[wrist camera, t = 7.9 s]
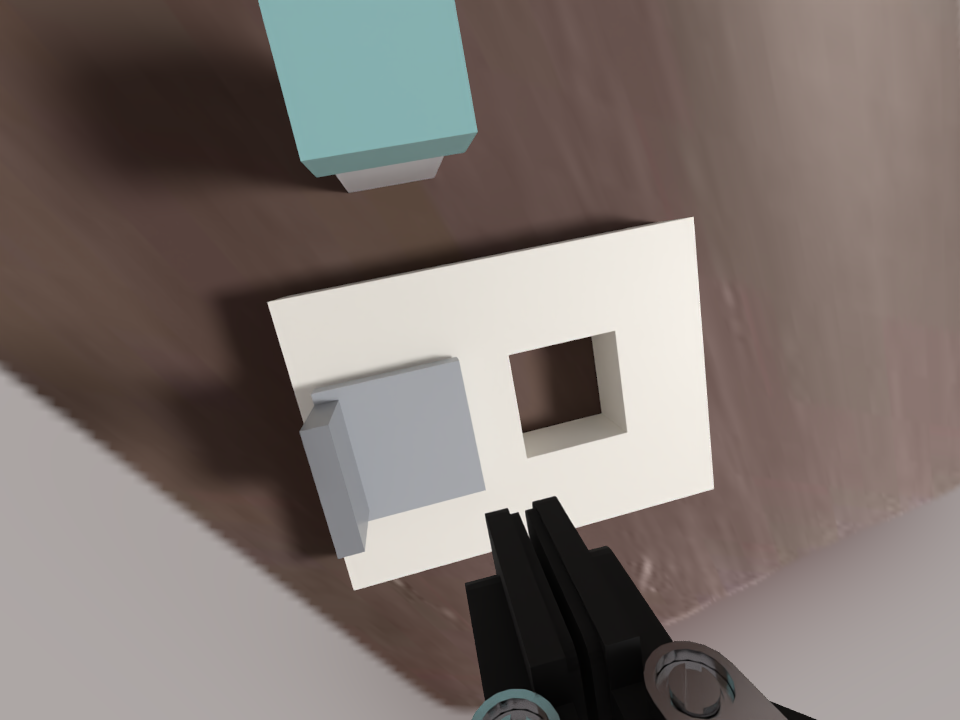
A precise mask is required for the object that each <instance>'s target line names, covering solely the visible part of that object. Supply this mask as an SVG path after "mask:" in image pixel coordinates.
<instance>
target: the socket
mask: <svg viewBox="0 0 960 720" xmlns="http://www.w3.org/2000/svg"><path fill="white" fill-rule="evenodd" d="M267 303H268V306H269V310H270V313H271V316H272V320H273V323H274V326H275V330H276V333H277V336H278V340H279V343H280V346H281V350H282V353H283V356H284V360H285V363H286V366H287V369H288V373H289V376H290V379H291V383H292V386H293V389H294V393H295V396H296V399H297V403H298V406H299V409H300V413H301V416H302V419H303V423H305V421H306V419H307V417H308V416H309V414H310V412H311V410H312V409H313V407H314V403H313V400H312V396H311V393H312V392H313V390H314V389H316V388H320V387H325V386H329V385H334V384H338V383H342V382H347V381H351V380H356V379H360V378H365V377H369V376H373V375H378V374H382V373H387V372H391V371H396V370H400V369H404V368H409V367H413V366H418V365H422V364H427V363H431V362H435V361H440V360H444V359H449V358H453V357H457V358H458V360H459V363H460V367H461V372H462V377H463V382H464V387H465V392H466V396H467V401H468V406H469V411H470V416H471V421H472V425H473V430H474V435H475V440H476V445H477V450H478V454H479V459H480V464H481V469H482V474H483V479H484V483H485V488H486V490H485V491H481V492H477V493H473V494H469V495H466V496H462V497H458V498H454V499H451V500H447V501H443V502H439V503H436V504H432V505H428V506H424V507H420V508H417V509H413V510H409V511H405V512H402V513H398V514H394V515H390V516H386V517H383V518H379V519H375V520H371V521H368V528H367V537H366V546H365V552H362V553H358V554H354V555H351V556H347V557H344V559H345V562H346V566H347V569H348V572H349V576H350V579H351V582H352V586H353V589H354V590H357V589H361V588H365V587H368V586H372V585H375V584H379V583H382V582H386V581H389V580H393V579H396V578H400V577H403V576H407V575H411V574H414V573H418V572H421V571H425V570H428V569H432V568H435V567H439V566H442V565H446V564H450V563H453V562H457V561H460V560H464V559H467V558H471V557H474V556H478V555H481V554H485V553H488V552H492V549H491V544H490V539H489V534H488V529H487V524H486V519H485V513H489V512H493V511H497V510H501V509H505V508H508V509H509V512H510V514H512V513H516V512H519V514H520V517H521V519H522V521H523V524H524V526H525V529H526V531H527V533H528V527H527V521H526V516H525V510H528V509H532V502H533V501H537V500H541V499H545V498H549V497H553V496H556V497H557V498H558V500H559V502H560V503H561V505H562V507H563V508H564V510H565V512H566V513H567V515H568V517H569V519H570V520H571V522H572V524H573V525H574V527H575V528H577V527H581V526H584V525H588V524H591V523H595V522H598V521H602V520H605V519H609V518H612V517H616V516H620V515H623V514H627V513H630V512H634V511H637V510H641V509H644V508H648V507H651V506H655V505H658V504H662V503H666V502H669V501H673V500H676V499H680V498H683V497H687V496H690V495H694V494H697V493H701V492H704V491H708V490H712V489H714V483H713V469H712V456H711V443H710V430H709V416H708V403H707V390H706V376H705V363H704V350H703V337H702V323H701V310H700V297H699V283H698V270H697V257H696V244H695V230H694V217H689V218H683V219H676V220H669V221H662V222H656V223H651V224H646V225H641V226H636V227H631V228H626V229H621V230H616V231H611V232H606V233H601V234H596V235H591V236H586V237H581V238H576V239H571V240H566V241H561V242H556V243H551V244H546V245H541V246H536V247H531V248H526V249H521V250H516V251H511V252H506V253H501V254H496V255H491V256H486V257H481V258H476V259H471V260H466V261H461V262H456V263H451V264H446V265H441V266H436V267H431V268H426V269H420V270H415V271H410V272H405V273H400V274H395V275H390V276H385V277H380V278H375V279H370V280H365V281H360V282H355V283H350V284H345V285H340V286H335V287H330V288H325V289H320V290H315V291H310V292H305V293H300V294H295V295H290V296H285V297H282V298H279V299H276V300H273V301H269V302H267ZM590 336H591V337H592V345H593V352H594V359H595V367H596V374H597V382H598V389H599V397H600V404H601V412H602V413H601V414H597V415H593V416H589V417H585V418H581V419H577V420H573V421H569V422H565V423H561V424H557V425H553V426H549V427H545V428H541V429H537V430H533V431H529V432H525V433H522V428H521V422H520V417H519V411H518V406H517V400H516V395H515V389H514V384H513V378H512V372H511V367H510V361H509V356H508V355H511V354H515V353H520V352H524V351H528V350H533V349H537V348H541V347H546V346H550V345H555V344H559V343H563V342H568V341H572V340H576V339H581V338H585V337H590ZM528 536H529V533H528Z"/></svg>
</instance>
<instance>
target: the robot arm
mask: <svg viewBox="0 0 960 720" xmlns="http://www.w3.org/2000/svg"><path fill="white" fill-rule="evenodd" d="M525 516H526V521H527V527H528V533H529V536H528V533H527V531H526V529H525V526H524V524H523V521H522V519H521V517H520V514H519V512H516V513H512V514H510V512H509V509H508V508H505V509H501V510H497V511H493V512H489V513H485V519H486V524H487V529H488V534H489V539H490V544H491V549H492V554H493V559H494V564H495V569H496V574H497V575H494V576H490V577H486V578H483V579H479V580H475V581H471V582H467V583H465V587H466V593H467V599H468V605H469V611H470V616H471V622H472V628H473V634H474V639H475V645H476V651H477V657H478V663H479V668H480V674H481V680H482V686H483V691H484V697H485V702H484V703H483V704H482V705H481V706H480V707H479V709H478V710H477V711H476V712H475V714H474V716H473V719H472V720H816V719H813V718H811V717H808V716H806V715H804V714H801V713H798V712H796V711H794V710H791V709H789V708H786V707H783V706H781V705H778V704H776V703H773V702H771V701H769V700H768V699H767V698H766V697H765V696H764V695H763V694H762V693H761V692H760V691H759V690H758V689H757V688H756V687H755V686H754V685H753V684H752V683H751V682H750V681H749V680H748V679H747V678H746V677H745V676H744V675H743V674H742V673H741V672H740V671H739V670H738V669H737V668H736V667H735V666H734V665H733V663H731V662H730V661H729V660H728V659H727V658H725V657H724V656H723V655H721V654H720V653H719V652H717V651H715V650H713V649H711V648H709V647H707V646H705V645H702V644H698V643H694V642H690V641H674V642H673V641H672V639H671V638H670V636H669V635H668V633H667V632H666V630H665V629H664V628H663V626H662V625H661V623H660V622H659V620H658V619H657V617H656V616H655V614H654V613H653V611H652V610H651V608H650V607H649V605H648V604H647V602H646V601H645V599H644V598H643V596H642V595H641V593H640V592H639V590H638V589H637V587H636V586H635V584H634V583H633V581H632V580H631V578H630V577H629V575H628V574H627V572H626V571H625V569H624V568H623V566H622V565H621V563H620V562H619V561H618V559H617V558H616V556H615V555H614V553H613V552H612V550H611V549H610V548H609V547H607V546H603V547H600V548H596V549H592V550H588V549H587V547H586V545H585V544H584V542H583V540H582V539H581V537H580V535H579V534H578V532H577V530H576V529H575V527H574V525H573V524H572V522H571V520H570V519H569V517H568V515H567V513H566V512H565V510H564V508H563V507H562V505H561V503H560V502H559V500H558V498H557V497H556V496H553V497H549V498H545V499H541V500H537V501H533V502H532V509H528V510H525Z"/></svg>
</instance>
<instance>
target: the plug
mask: <svg viewBox="0 0 960 720" xmlns="http://www.w3.org/2000/svg"><path fill="white" fill-rule="evenodd" d="M258 2H259V5H260V9H261V13H262V17H263V20H264V24H265V28H266V32H267V36H268V39H269V43H270V47H271V51H272V55H273V58H274V62H275V66H276V70H277V73H278V77H279V81H280V85H281V89H282V92H283V96H284V100H285V104H286V108H287V111H288V115H289V119H290V123H291V126H292V130H293V134H294V138H295V142H296V145H297V149H298V153H299V157H300V161H301V162H302V163H303V164H304V165H305V166H306V167H307V168H308V169H309V170H310V171H311V172H312V173H313V174H314V175H315V176H316V177H323V176H328V175H334V174H335V175H336V176H337V178H338V179H339V180H340V182H341V183H342V184H343V186H344V187H345V189H346V190H347V191H348V193H351V192H357V191H362V190H368V189H374V188H379V187H385V186H391V185H397V184H402V183H408V182H414V181H419V180H425V179H431V178H434V177H435V175H436V172H437V170H438V168H439V166H440V164H441V161H442V159H443V157H444V156H446V155H452V154H458V153H464V152H465V151H466V150H467V148H468V147H469V145H470V143H471V142H472V140H473V139H474V137H475V135H476V134H477V126H476V121H475V115H474V109H473V104H472V98H471V92H470V86H469V81H468V75H467V69H466V64H465V58H464V52H463V47H462V41H461V35H460V29H459V24H458V18H457V12H456V7H455V1H454V0H258Z"/></svg>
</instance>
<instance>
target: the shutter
mask: <svg viewBox="0 0 960 720" xmlns="http://www.w3.org/2000/svg"><path fill="white" fill-rule="evenodd" d="M311 396H312V400H313V403H314V407H313V409H312V410H311V412H310V414H309V416H308V417H307V419H306V421H305V423H304V424H303V426H302V428H301V430H300V431H299V432H300V435H301V439H302V442H303V445H304V448H305V452H306V455H307V458H308V461H309V465H310V468H311V471H312V475H313V478H314V481H315V484H316V488H317V491H318V494H319V498H320V501H321V504H322V507H323V511H324V514H325V517H326V521H327V524H328V527H329V530H330V534H331V537H332V540H333V544H334V547H335V550H336V553H337V557H338V559H340V558H343V557H347V556H351V555H354V554H358V553H362V552H365V546H366V537H367V528H368V521H371V520H375V519H379V518H383V517H386V516H390V515H394V514H398V513H402V512H405V511H409V510H413V509H417V508H420V507H424V506H428V505H432V504H436V503H439V502H443V501H447V500H451V499H454V498H458V497H462V496H466V495H469V494H473V493H477V492H481V491H485V490H486V488H485V483H484V479H483V474H482V469H481V464H480V459H479V454H478V450H477V445H476V440H475V435H474V430H473V425H472V421H471V416H470V411H469V406H468V401H467V396H466V392H465V387H464V382H463V377H462V372H461V367H460V363H459V360H458V358H457V357H453V358H449V359H444V360H440V361H435V362H431V363H427V364H422V365H418V366H413V367H409V368H404V369H400V370H396V371H391V372H387V373H382V374H378V375H373V376H369V377H365V378H360V379H356V380H351V381H347V382H342V383H338V384H334V385H329V386H325V387H320V388H316V389H314V390H313V392H312V393H311Z"/></svg>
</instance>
